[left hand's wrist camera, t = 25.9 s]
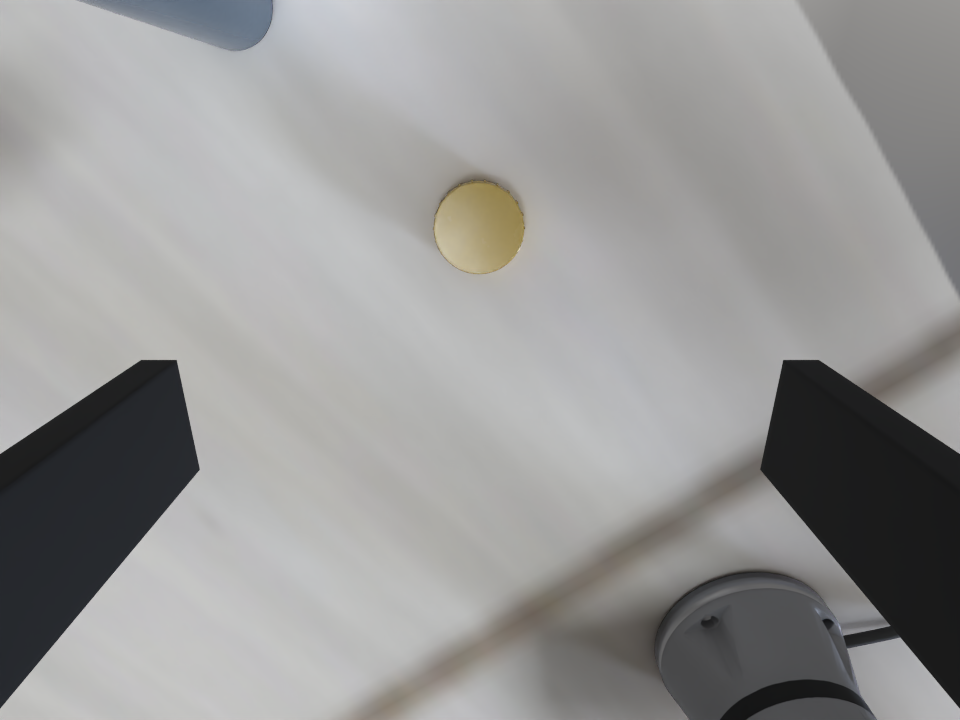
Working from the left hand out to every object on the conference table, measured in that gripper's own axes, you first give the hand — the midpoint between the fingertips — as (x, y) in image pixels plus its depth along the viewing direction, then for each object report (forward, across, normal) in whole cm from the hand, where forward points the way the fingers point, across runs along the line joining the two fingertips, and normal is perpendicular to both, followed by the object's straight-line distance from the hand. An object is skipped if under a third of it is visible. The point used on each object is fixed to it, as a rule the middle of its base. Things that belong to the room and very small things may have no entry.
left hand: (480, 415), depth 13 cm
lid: (+25, 0, 0) cm, 25 cm away
